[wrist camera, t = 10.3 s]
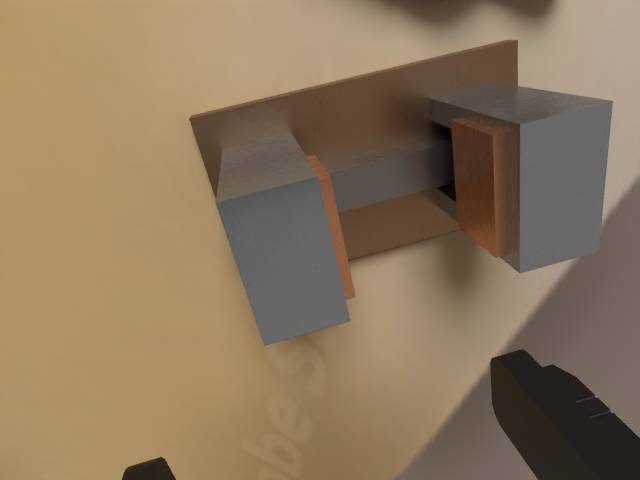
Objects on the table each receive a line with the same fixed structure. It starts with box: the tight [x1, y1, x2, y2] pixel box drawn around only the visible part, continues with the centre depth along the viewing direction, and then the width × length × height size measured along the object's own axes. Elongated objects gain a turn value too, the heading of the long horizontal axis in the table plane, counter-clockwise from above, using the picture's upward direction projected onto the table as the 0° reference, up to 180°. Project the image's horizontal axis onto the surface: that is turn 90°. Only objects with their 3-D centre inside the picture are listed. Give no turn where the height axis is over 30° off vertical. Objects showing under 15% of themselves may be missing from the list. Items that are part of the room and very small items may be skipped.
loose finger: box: [216, 133, 355, 346], centre depth 22 cm, size 7×5×9 cm, turn 12°
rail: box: [189, 40, 613, 273], centre depth 23 cm, size 11×19×10 cm, turn 102°
